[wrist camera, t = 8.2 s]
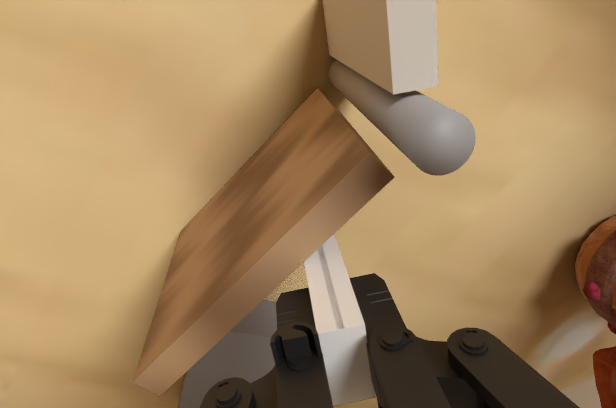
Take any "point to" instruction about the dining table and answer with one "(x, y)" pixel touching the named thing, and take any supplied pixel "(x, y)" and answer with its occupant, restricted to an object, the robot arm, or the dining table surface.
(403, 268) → the dining table surface
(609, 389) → the mug
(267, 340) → the block
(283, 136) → the door
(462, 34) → the dining table surface
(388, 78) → the doorframe
